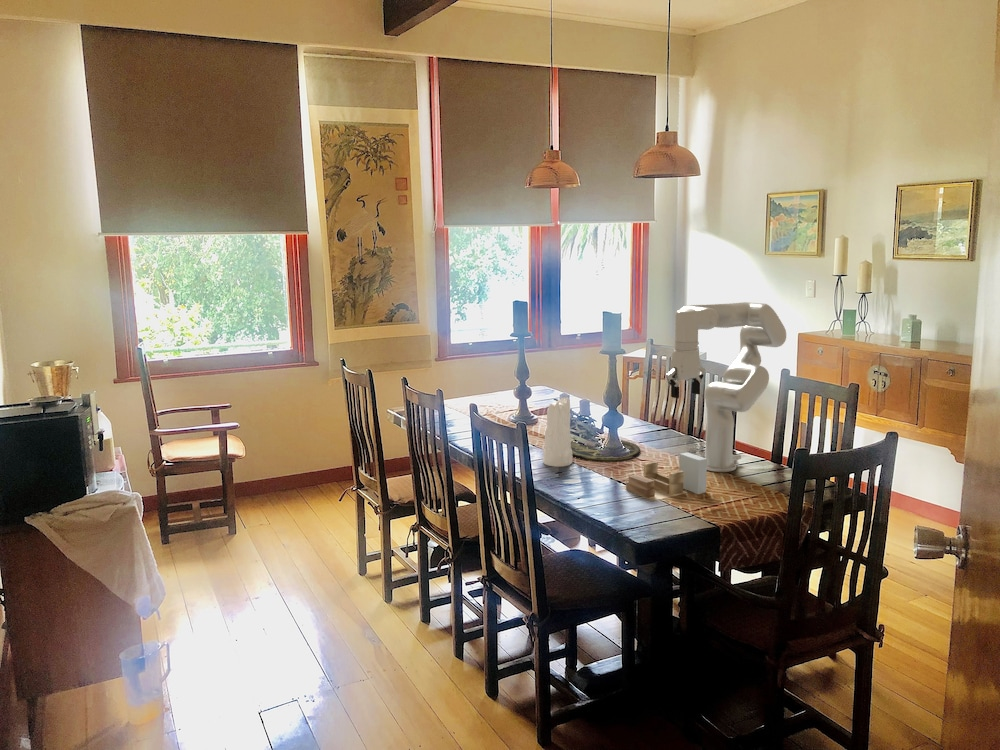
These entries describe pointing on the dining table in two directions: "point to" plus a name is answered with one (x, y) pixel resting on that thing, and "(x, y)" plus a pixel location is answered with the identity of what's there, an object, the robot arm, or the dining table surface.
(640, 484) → the offcut top
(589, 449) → the decorative plate
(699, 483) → the white rectangular block
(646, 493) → the block
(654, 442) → the dining table surface
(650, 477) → the rack
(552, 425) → the white pillar candle
